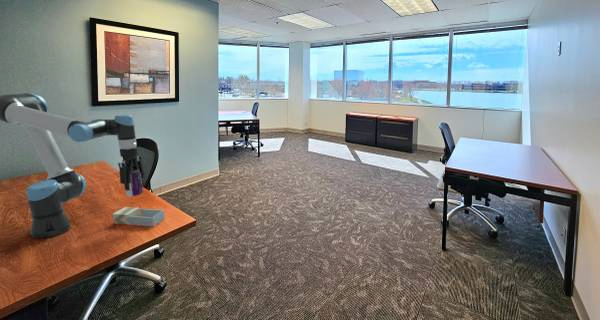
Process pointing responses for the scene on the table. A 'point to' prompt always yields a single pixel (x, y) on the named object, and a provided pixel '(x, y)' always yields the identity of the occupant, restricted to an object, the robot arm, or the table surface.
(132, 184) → the beverage can
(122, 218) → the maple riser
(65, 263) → the table surface
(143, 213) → the cradle tray
